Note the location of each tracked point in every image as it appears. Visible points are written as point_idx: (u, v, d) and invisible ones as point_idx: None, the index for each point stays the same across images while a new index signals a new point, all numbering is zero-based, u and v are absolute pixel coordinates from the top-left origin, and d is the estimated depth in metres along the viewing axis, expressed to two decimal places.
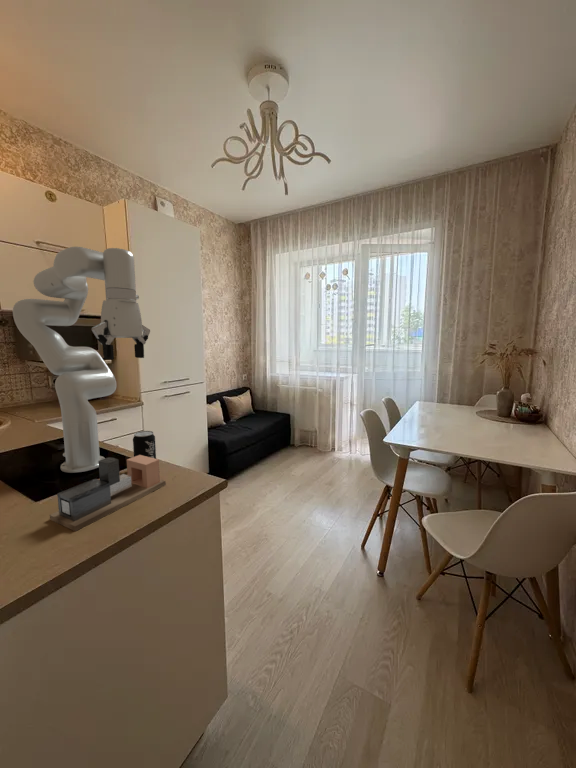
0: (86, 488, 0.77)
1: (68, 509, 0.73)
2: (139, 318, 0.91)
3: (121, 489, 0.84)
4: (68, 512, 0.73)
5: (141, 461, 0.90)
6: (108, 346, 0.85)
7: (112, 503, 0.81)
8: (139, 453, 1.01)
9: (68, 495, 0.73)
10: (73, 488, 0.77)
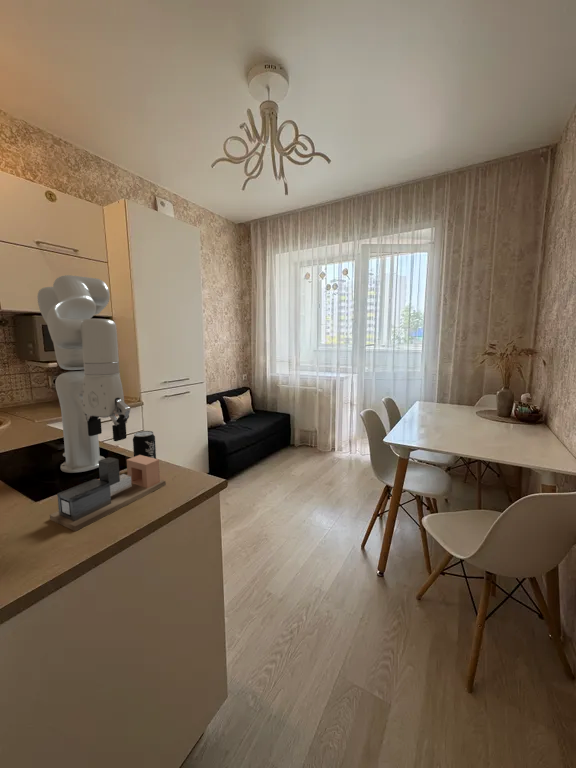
0: (86, 488, 0.77)
1: (68, 509, 0.73)
2: None
3: (121, 489, 0.84)
4: (68, 512, 0.73)
5: (141, 461, 0.90)
6: None
7: (112, 503, 0.81)
8: (139, 453, 1.01)
9: (68, 495, 0.73)
10: (73, 488, 0.77)
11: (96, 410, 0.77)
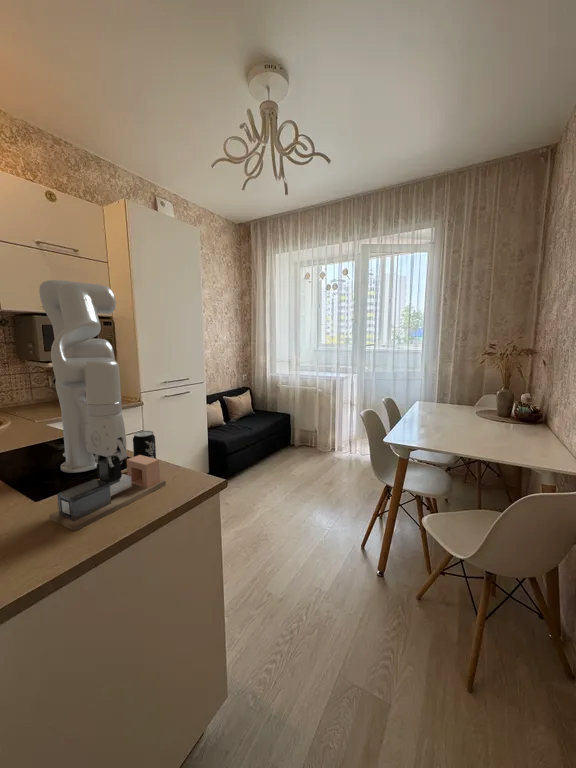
0: (86, 488, 0.77)
1: (68, 509, 0.73)
2: None
3: (121, 489, 0.84)
4: (68, 512, 0.73)
5: (141, 461, 0.90)
6: None
7: (112, 503, 0.81)
8: (139, 453, 1.01)
9: (68, 495, 0.73)
10: (73, 488, 0.77)
11: (99, 449, 0.79)
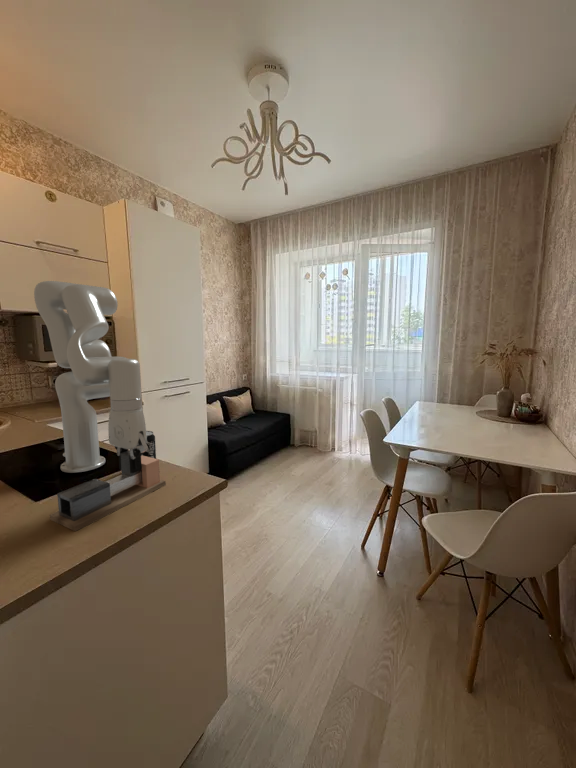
0: (86, 488, 0.77)
1: None
2: None
3: (141, 480, 0.90)
4: None
5: (141, 461, 0.90)
6: None
7: (112, 503, 0.81)
8: None
9: (68, 495, 0.73)
10: (73, 488, 0.77)
11: (121, 442, 0.84)
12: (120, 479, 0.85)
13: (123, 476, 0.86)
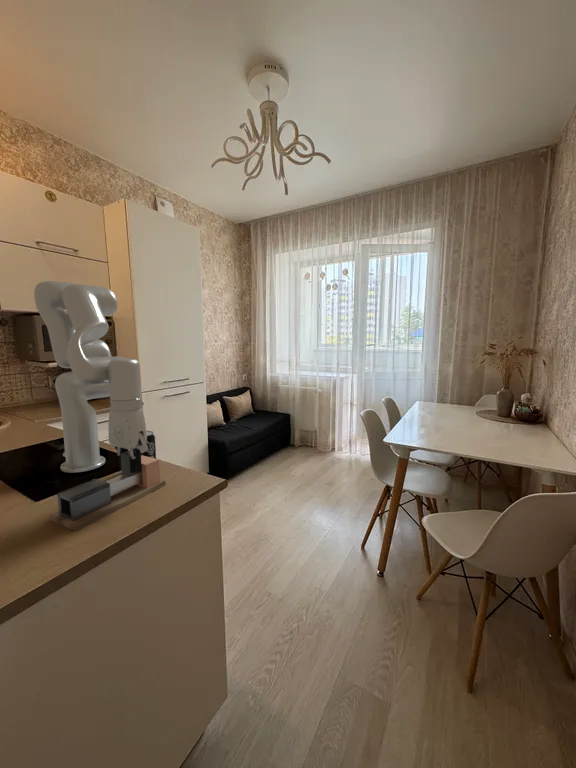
0: (86, 488, 0.77)
1: None
2: None
3: (141, 480, 0.90)
4: None
5: (141, 461, 0.90)
6: None
7: (112, 503, 0.81)
8: None
9: (68, 495, 0.73)
10: (73, 488, 0.77)
11: (121, 442, 0.84)
12: (120, 479, 0.85)
13: (123, 476, 0.86)
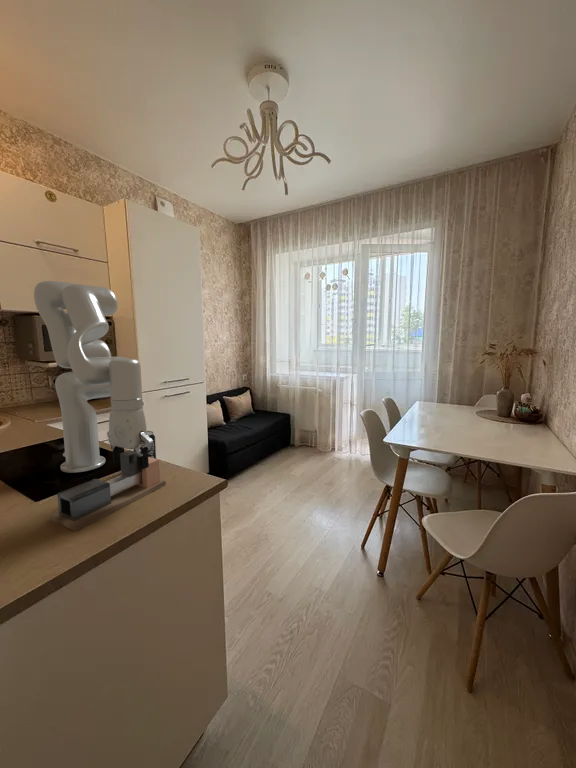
0: (86, 488, 0.77)
1: None
2: None
3: (140, 480, 0.90)
4: None
5: None
6: None
7: (112, 503, 0.81)
8: None
9: (68, 495, 0.73)
10: (73, 488, 0.77)
11: (122, 442, 0.84)
12: (120, 479, 0.85)
13: (123, 476, 0.86)
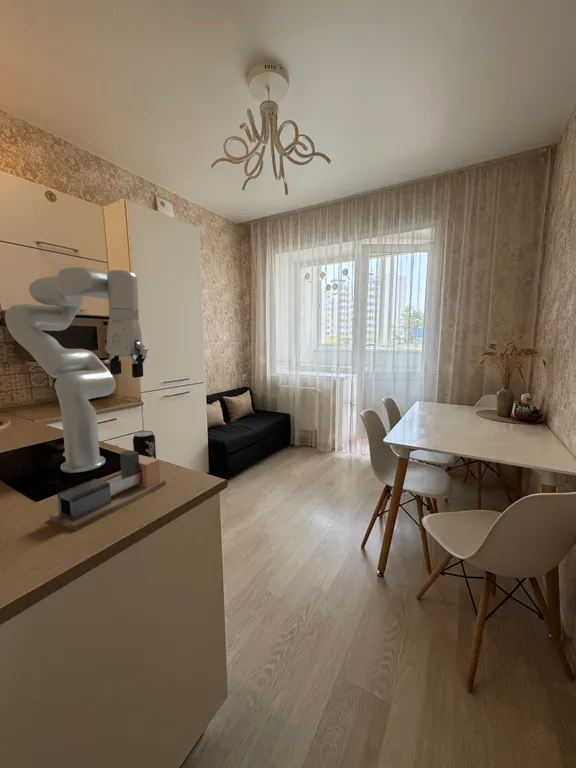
0: (86, 488, 0.77)
1: None
2: None
3: (140, 480, 0.90)
4: None
5: (141, 461, 0.90)
6: None
7: (112, 503, 0.81)
8: (139, 453, 1.01)
9: (68, 495, 0.73)
10: (73, 488, 0.77)
11: (118, 350, 0.90)
12: (120, 479, 0.85)
13: (123, 476, 0.86)
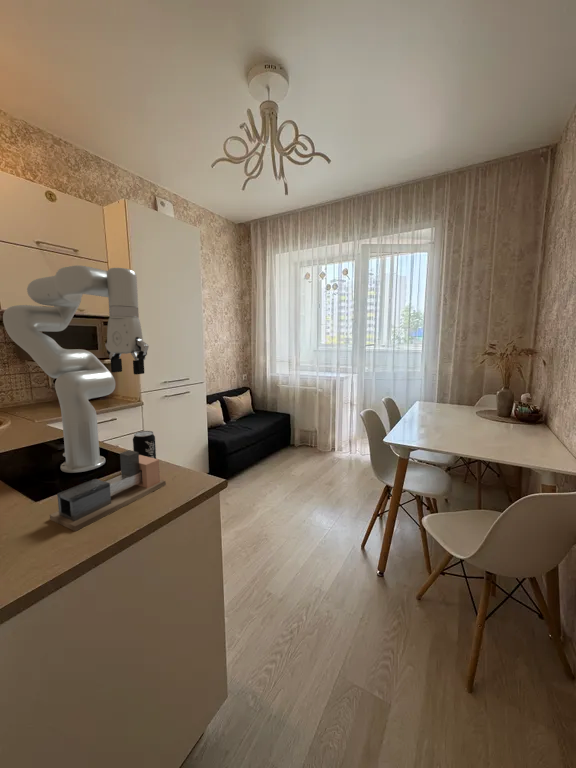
0: (86, 488, 0.77)
1: None
2: None
3: (140, 480, 0.90)
4: None
5: (141, 461, 0.90)
6: None
7: (112, 503, 0.81)
8: (139, 453, 1.01)
9: (68, 495, 0.73)
10: (73, 488, 0.77)
11: (119, 347, 0.90)
12: (120, 479, 0.85)
13: (123, 476, 0.86)
